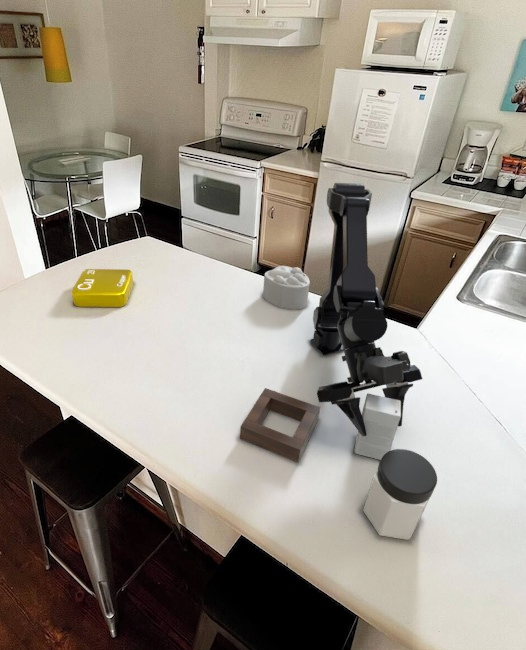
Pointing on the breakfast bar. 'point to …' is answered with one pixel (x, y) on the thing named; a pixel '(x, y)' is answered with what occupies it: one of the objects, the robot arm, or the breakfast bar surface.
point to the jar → (400, 493)
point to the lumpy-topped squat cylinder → (286, 287)
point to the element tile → (103, 288)
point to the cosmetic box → (378, 426)
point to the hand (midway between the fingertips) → (381, 431)
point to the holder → (274, 439)
